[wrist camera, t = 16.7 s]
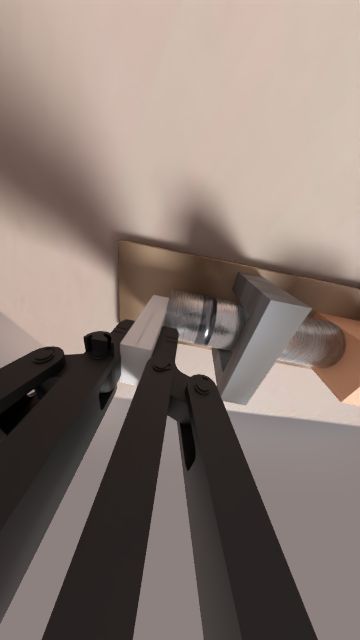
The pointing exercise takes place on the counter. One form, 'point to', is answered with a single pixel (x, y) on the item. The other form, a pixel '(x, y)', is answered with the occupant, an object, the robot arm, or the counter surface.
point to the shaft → (230, 319)
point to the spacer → (344, 363)
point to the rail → (241, 287)
